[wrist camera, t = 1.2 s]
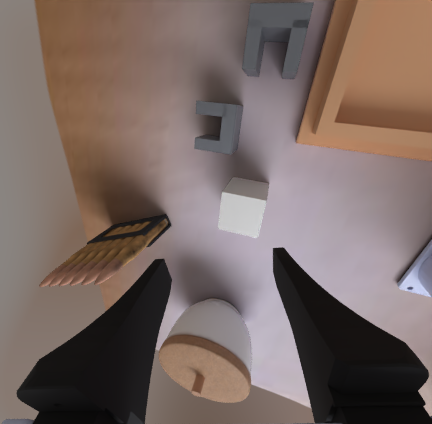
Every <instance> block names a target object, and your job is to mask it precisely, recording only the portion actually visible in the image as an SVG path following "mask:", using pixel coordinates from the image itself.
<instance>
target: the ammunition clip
mask: <svg viewBox="0 0 432 424" xmlns="http://www.w3.org/2000/svg"><path fill="white" fill-rule="evenodd" d="M169 227H171V223H170V221H169V219H168V217H167V215H166V214H165V215H160V216H155V217H150V218H145V219H140V220H136V221H131V222H126V223H121V224H116V225H113V226H111V227H110V228H108V229H107V230H105V231H104V232H102V233H101V234H99V235H98V236H96V237H95V238H94V239H92V240H91V241H89V242H88V243H87V244H88V245H86V246H85V247H84V248H82V249H81V250H79V251H78V252H76V253H75V254H73V255H72V256H71V257H70V258H69V259H68V260H67V261H66V262H64V263H63V264H61V265H60V266H59V267H58V268H56V269H55V270H54V271H52V272H51V273H50V274H49V275H48V276H47V277H46V278H45V279H44V280H43V281H42V282H41V284H40V285H39V286H40V287H43V286H46V285H48V284H49V287H51V286H54V285H57V284H59V286H63V285H66V284H67V283H70V286H72V285H75V284H78V283H80V282H82V281H83V282H82V285H86V284H88V283H90V282H92V281H94V280H96V281H95V283H94V284H95V285H98V284H100V283H102V282H104V281H106V280H107V279H109V278H110V277H112V276H113V275H114V274H115V273H117V272H118V271H119V270H120V269H121V268H122V267H124V266H125V265H126V264H127V263H128V262H130V261H131V260H133V259H134V258H135V257H136V256H137V255H138V254H139V253H140V252H141V251H142V250H143V249H144V248H145V247H150V246H151V245H152V244H153V243H154V242H155V241H156V240H157V239H158V238H159V237H160V236H161V235H162V234H163V233H164V232H165V231H166V230H167V229H168V228H169Z"/></svg>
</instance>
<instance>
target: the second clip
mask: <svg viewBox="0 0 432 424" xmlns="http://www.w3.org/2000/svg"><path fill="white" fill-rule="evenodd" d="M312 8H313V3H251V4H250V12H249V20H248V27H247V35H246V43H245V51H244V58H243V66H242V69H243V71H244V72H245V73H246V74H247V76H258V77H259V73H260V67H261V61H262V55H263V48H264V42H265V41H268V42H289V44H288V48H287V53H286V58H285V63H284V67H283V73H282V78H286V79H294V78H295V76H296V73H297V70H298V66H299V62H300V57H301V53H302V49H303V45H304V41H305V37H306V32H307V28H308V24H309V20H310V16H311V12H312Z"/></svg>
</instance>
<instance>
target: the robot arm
mask: <svg viewBox="0 0 432 424" xmlns="http://www.w3.org/2000/svg"><path fill="white" fill-rule="evenodd" d="M273 273H274V277H275V281H276V285H277V288H278V291H279V294H280V297H281V300H282V302H283V305H284V308H285V311H286V313H287V316H288V319H289V322H290V325H291V328H292V331H293V335H294V339H295V343H296V346H297V350H298V354H299V358H300V362H301V366H302V370H303V374H304V378H305V382H306V386H307V391H308V395H309V399H310V404H311V408H312V412H313V416H314V421H315V423H302V424H432V416H429V414H428V413H427V411H426V410H425V408H424V407H423V406H424V405H426V404H425V401H424V400H423V398H422V397H421V395H420V394H419V392H418V390H419V389H420V388H421V387H422V386H423V385H424V383H425V382H426V381H427V379H428V377H429V373H428V370H427V369H426V367H425V366H424V365H423V364H422V362H421V361H420V360H419V358H418V357H417V356H416V355H415V353H414V352H413V351H412V350H411V349H410V348H409V347H408V345H407V344H406V343H405V342H403V341H401V340H400V339H398V338H396V337H394V336H393V335H391V334H389V333H387V332H385V331H384V330H382V329H380V328H378V327H377V326H375V325H373V324H372V323H370V322H369V321H367V320H366V319H364V318H362V317H361V316H359V315H358V314H356V313H355V312H354V311H352V310H351V309H349V308H348V307H346V306H345V305H343V304H342V303H341V302H339V301H338V300H337V299H336V298H334V297H333V296H332V295H330V294H329V293H328V292H327V291H326V290H324V289H323V288H322V287H321V286H320V285H319V284H318V283H316V282H315V281H314V280H313V279H312V278H311V277H310V276H309V275H308V274H307V273H306V272H305V271H304V270H303V269H302V268H301V267H300V266H299V265H298V264H297V263H296V262H295V260H294V259H293V258H292V257H291V256H290V255H289V253H288V252H287V251H286V250H285V249H284V248H283V247H282V248H273ZM171 282H172V279H171V276H170V273H169V271H168V268H167V266H166V263H165V260H164V259H155V260H154V261H153V263H152V264H151V265H150V266H149V267H148V268H147V270H146V271H145V272H144V273H143V274H142V275H141V276H140V278H139V279H138V280H137V281H136V282H135V283H134V284H133V285H132V286H131V288H130V289H129V290H128V291H127V292H126V293H125V294H124V295H123V296H122V297H121V298H120V299H119V300H118V301H117V302H116V303H115V304H114V305H113V306H111V307H110V308H109V309H108V310H107V311H106V312H105V313H104V314H102V315H101V316H100V317H99V318H97V319H96V320H95V321H94V322H93V323H91V324H90V325H89V326H88V327H86V328H85V329H84V330H82V331H81V332H80V333H78V334H77V335H76V336H74V337H73V338H71V339H70V340H68V341H67V342H66V343H64V344H63V345H61V346H59V347H58V348H56V349H55V350H53V351H52V352H50V353H49V354H47V355H46V356H44V357H42V358H41V359H39V361H38V362H37V363H36V365H35V366H34V368H33V369H32V371H31V372H30V374H29V375H28V376H27V378H26V379H25V380H24V382H23V383H22V385H21V386H20V388H19V389H18V390H17V397H18V398H19V399H20V400H21V401H22V402H24V403H25V404H27V405H29V406H31V407H32V408H34V409H35V410H37V411H39V414H38V415H37V417H36V419H35V420H30V419H6V420H4V421H3V422H2V424H145V415H146V406H147V399H148V390H149V384H150V377H151V371H152V365H153V359H154V353H155V348H156V343H157V338H158V334H159V330H160V326H161V323H162V319H163V316H164V312H165V309H166V305H167V302H168V298H169V295H170V289H171ZM397 285H398V287H399V288H400V289H401V290H405V291H409V292H413V293H417V294H420V295H424V296H428V297H432V240H431V241H430V242H429V244H428V245H427V246H426V247H425V249H424V250H423V251H422V253H421V254H420V255H419V257H418V258H417V259H416V260H415V262H414V263H413V264H412V266H411V267H410V268H409V269H408V271H407V272H406V273H405V275H404V276H403V277H402V279H401V280H400V281H399V282H398V284H397ZM297 424H298V423H297ZM300 424H301V423H300Z"/></svg>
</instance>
